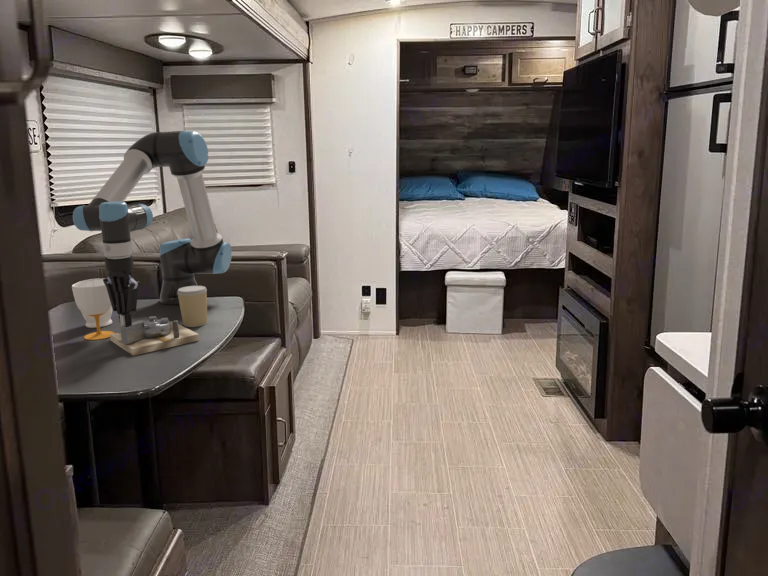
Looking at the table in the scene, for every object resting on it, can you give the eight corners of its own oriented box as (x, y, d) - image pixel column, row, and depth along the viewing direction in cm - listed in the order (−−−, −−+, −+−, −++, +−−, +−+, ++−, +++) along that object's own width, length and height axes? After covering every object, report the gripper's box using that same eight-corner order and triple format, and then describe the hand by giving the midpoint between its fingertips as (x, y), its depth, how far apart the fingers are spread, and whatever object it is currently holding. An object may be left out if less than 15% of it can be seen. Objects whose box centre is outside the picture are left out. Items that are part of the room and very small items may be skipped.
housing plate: (173, 327, 212) (171, 306, 211) (200, 340, 197) (197, 318, 195) (109, 340, 200) (106, 319, 198) (131, 356, 184) (128, 332, 183)
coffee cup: (200, 318, 222) (197, 284, 220) (215, 323, 216) (211, 287, 213) (175, 324, 216) (171, 289, 213) (189, 329, 209) (185, 293, 207)
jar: (103, 329, 212) (97, 285, 209) (75, 328, 215) (68, 284, 211) (122, 320, 223) (116, 278, 219) (95, 320, 225) (89, 277, 221)
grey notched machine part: (154, 327, 205) (152, 311, 204) (178, 330, 200) (176, 314, 199) (113, 341, 191) (110, 325, 190) (137, 345, 186) (135, 328, 185)
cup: (90, 331, 211) (82, 279, 208) (125, 330, 211) (118, 278, 207) (72, 342, 200) (64, 288, 196) (109, 341, 200) (102, 287, 196)
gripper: (92, 256, 185) (101, 335, 191) (123, 260, 179) (131, 341, 185) (114, 252, 192) (122, 328, 198) (144, 255, 186) (152, 334, 192)
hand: (127, 334), depth 191 cm, fingers closed
